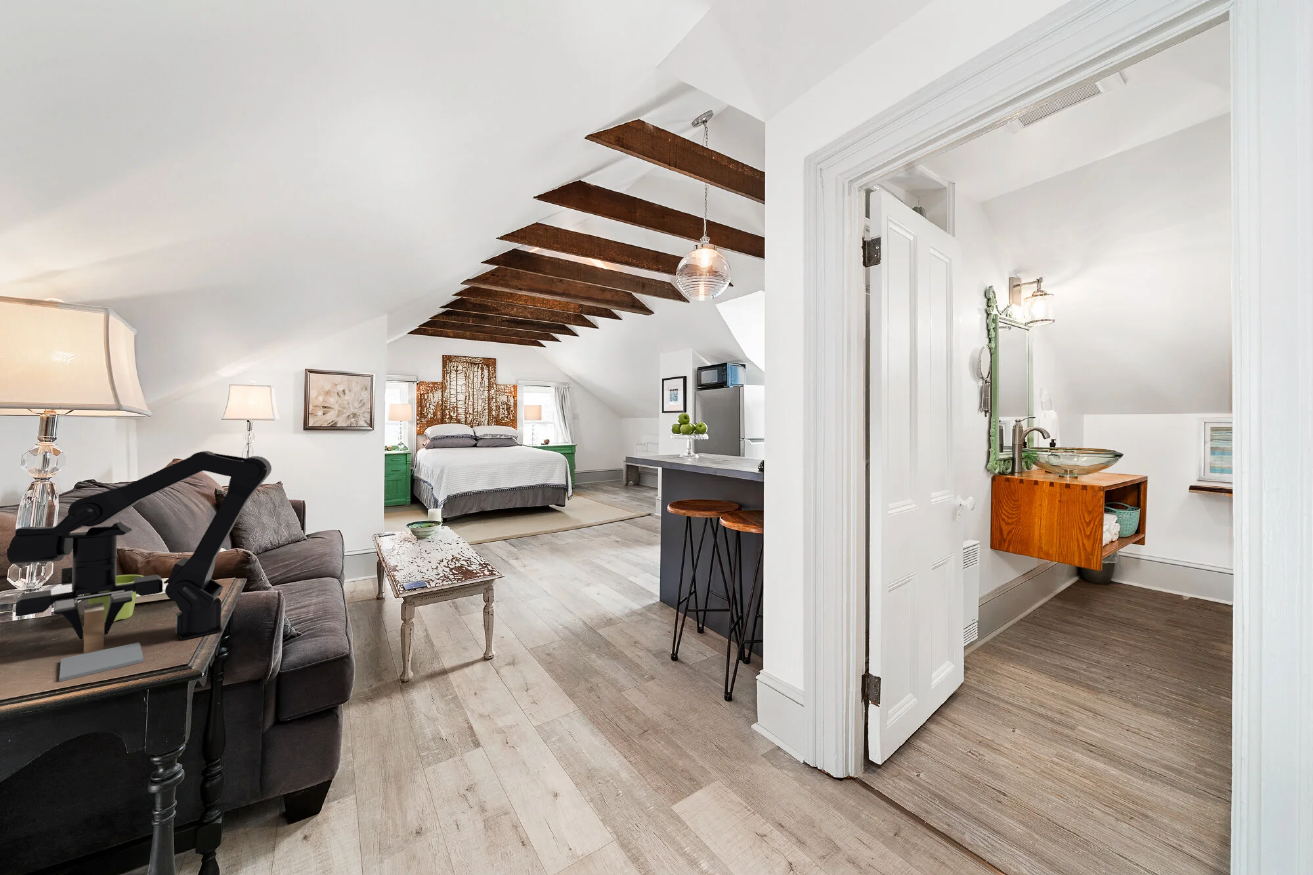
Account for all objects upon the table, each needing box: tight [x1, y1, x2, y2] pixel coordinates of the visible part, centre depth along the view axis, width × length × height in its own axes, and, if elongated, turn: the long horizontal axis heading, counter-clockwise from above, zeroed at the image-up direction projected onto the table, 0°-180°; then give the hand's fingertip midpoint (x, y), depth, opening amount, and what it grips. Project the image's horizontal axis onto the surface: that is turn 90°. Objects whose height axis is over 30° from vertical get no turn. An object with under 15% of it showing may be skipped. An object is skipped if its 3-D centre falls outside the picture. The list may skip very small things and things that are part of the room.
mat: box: [58, 642, 144, 682], centre depth 91 cm, size 10×10×1 cm
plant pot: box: [86, 574, 145, 624], centre depth 110 cm, size 9×9×9 cm
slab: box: [83, 602, 105, 654], centre depth 97 cm, size 2×5×8 cm, turn 50°
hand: (93, 636), depth 97 cm, fingers open, 3 cm apart
